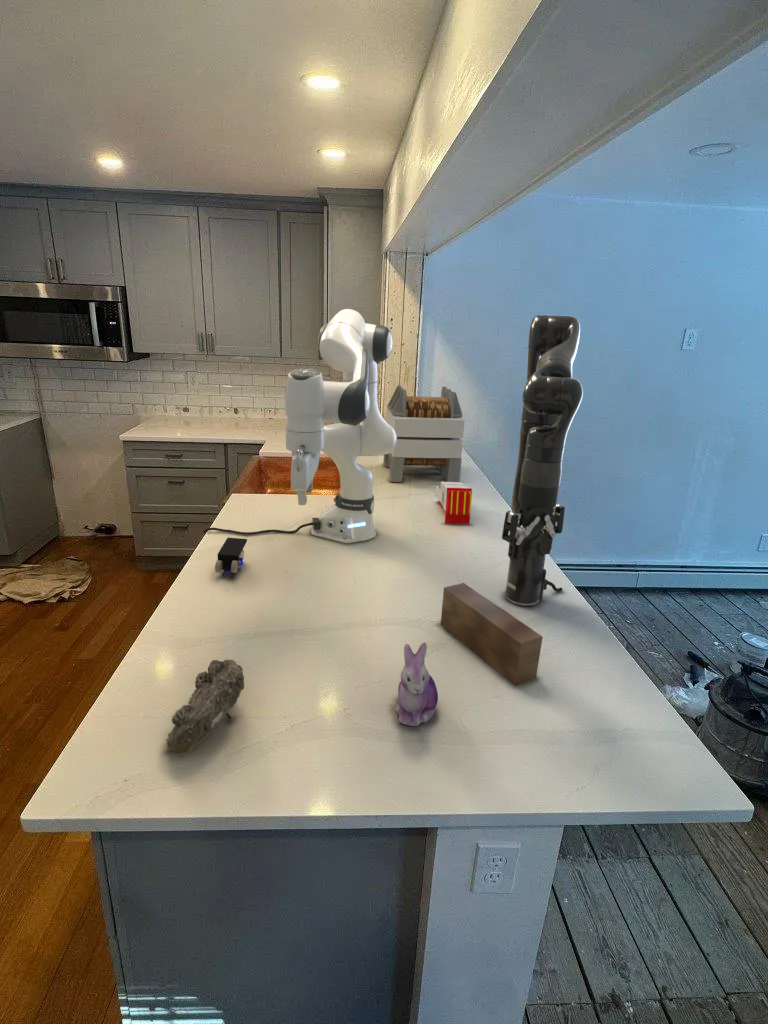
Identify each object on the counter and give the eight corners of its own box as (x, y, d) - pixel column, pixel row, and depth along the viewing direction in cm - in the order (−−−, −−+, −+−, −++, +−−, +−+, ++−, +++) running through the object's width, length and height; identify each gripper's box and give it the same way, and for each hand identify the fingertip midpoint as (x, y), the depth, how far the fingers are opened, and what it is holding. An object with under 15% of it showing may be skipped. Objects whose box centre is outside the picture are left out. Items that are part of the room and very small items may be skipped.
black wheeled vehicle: (238, 584, 162) (249, 557, 175) (236, 562, 158) (247, 536, 172) (215, 584, 161) (227, 556, 175) (212, 561, 158) (225, 535, 171)
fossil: (192, 660, 117) (244, 628, 112) (224, 691, 120) (276, 661, 115) (142, 746, 98) (202, 712, 93) (182, 779, 101) (242, 748, 96)
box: (440, 624, 143) (443, 587, 140) (460, 619, 146) (463, 582, 143) (515, 686, 121) (521, 643, 118) (536, 678, 124) (542, 636, 120)
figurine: (408, 735, 105) (412, 667, 100) (382, 702, 114) (386, 638, 109) (450, 721, 110) (457, 654, 105) (423, 690, 118) (428, 627, 113)
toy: (463, 477, 236) (476, 489, 206) (461, 509, 239) (474, 525, 209) (433, 476, 235) (443, 488, 206) (432, 508, 238) (441, 524, 209)
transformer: (382, 463, 289) (386, 382, 275) (445, 464, 293) (451, 384, 279) (390, 482, 257) (394, 392, 243) (460, 483, 261) (468, 394, 247)
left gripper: (312, 452, 122) (312, 513, 126) (324, 432, 141) (323, 486, 146) (283, 451, 122) (284, 511, 126) (298, 431, 141) (299, 484, 146)
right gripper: (526, 490, 104) (515, 570, 110) (580, 482, 111) (567, 557, 117) (499, 479, 110) (490, 555, 116) (552, 472, 117) (541, 544, 123)
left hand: (305, 497), depth 136 cm, fingers open, 8 cm apart
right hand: (529, 556), depth 116 cm, fingers open, 8 cm apart
